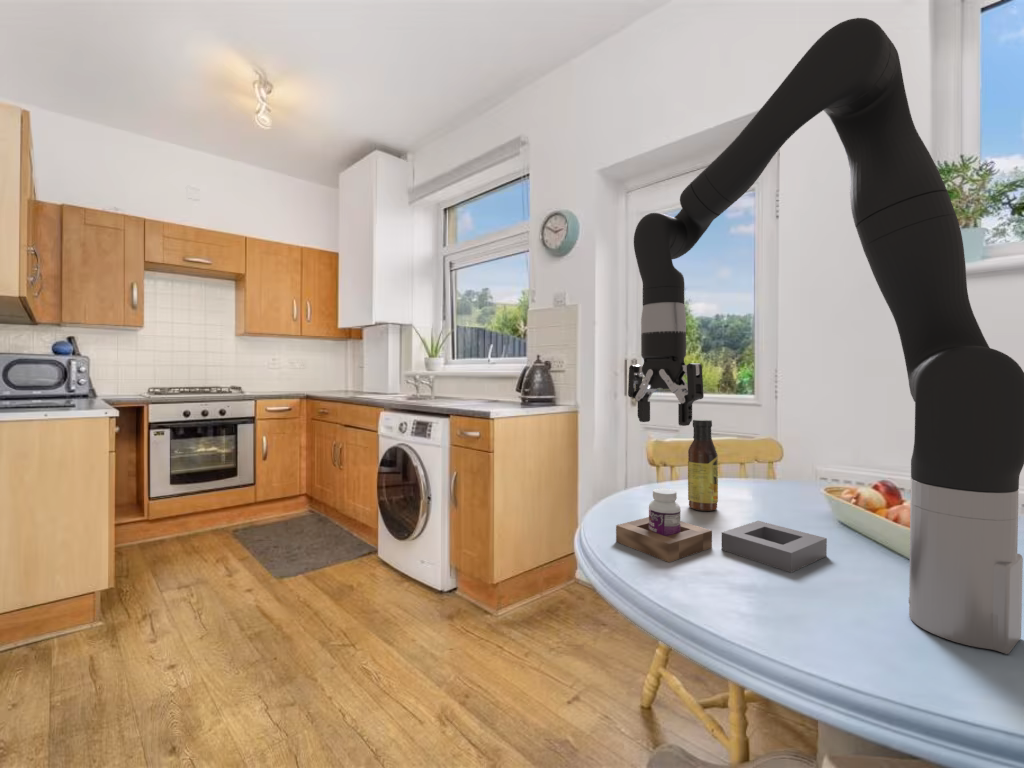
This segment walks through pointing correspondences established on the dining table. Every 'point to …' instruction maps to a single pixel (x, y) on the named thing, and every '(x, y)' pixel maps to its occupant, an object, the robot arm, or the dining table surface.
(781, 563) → the grey square frame
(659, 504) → the pill bottle
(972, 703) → the dining table surface
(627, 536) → the dock
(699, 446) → the sauce bottle
